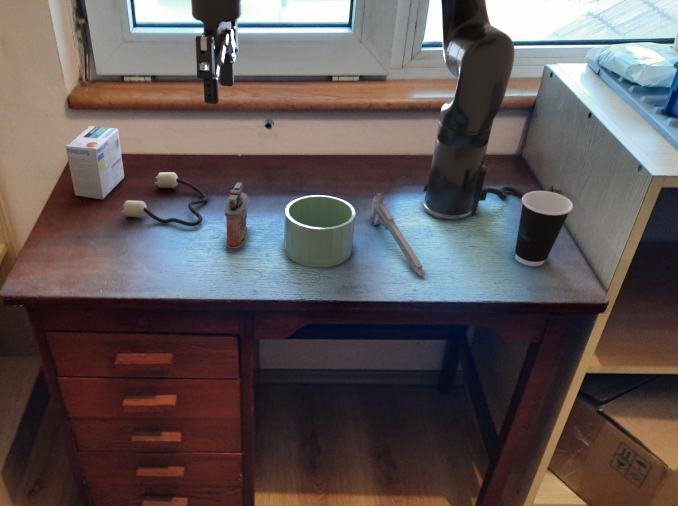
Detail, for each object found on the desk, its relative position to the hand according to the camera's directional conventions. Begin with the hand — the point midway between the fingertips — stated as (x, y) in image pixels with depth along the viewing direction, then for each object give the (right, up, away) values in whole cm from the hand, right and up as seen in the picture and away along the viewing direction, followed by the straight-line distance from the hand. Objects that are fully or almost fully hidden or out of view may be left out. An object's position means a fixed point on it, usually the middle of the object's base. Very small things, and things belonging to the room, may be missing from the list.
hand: (219, 93), depth 107 cm
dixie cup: (+54, -26, +8) cm, 60 cm away
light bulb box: (-26, -8, +30) cm, 41 cm away
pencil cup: (+17, -24, +11) cm, 31 cm away
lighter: (+2, -22, +13) cm, 26 cm away
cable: (-10, -13, +24) cm, 29 cm away
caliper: (+31, -23, +11) cm, 40 cm away
